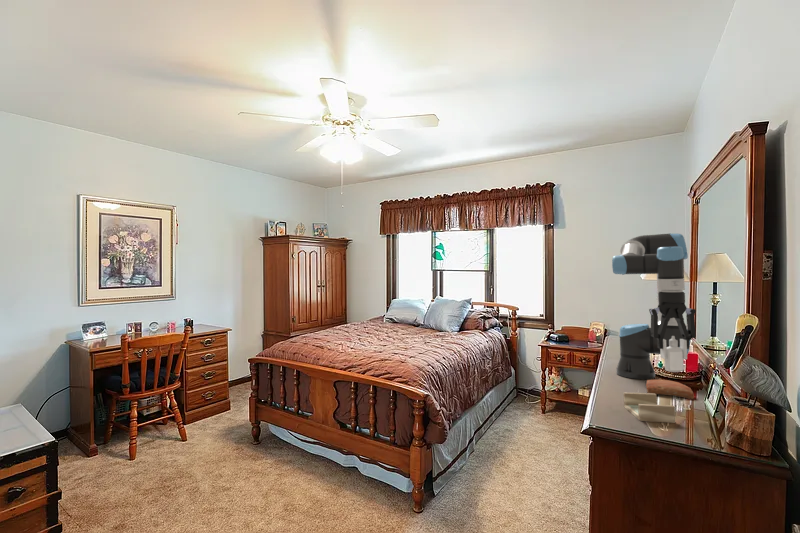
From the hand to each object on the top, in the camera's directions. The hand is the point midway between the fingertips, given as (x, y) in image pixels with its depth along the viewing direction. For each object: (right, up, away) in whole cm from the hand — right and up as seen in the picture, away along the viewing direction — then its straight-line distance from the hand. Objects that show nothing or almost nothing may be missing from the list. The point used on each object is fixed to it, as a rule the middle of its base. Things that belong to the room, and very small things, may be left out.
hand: (673, 358), depth 131 cm
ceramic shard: (+11, -18, +19) cm, 28 cm away
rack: (-12, -18, -4) cm, 22 cm away
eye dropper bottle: (0, -5, 0) cm, 5 cm away
